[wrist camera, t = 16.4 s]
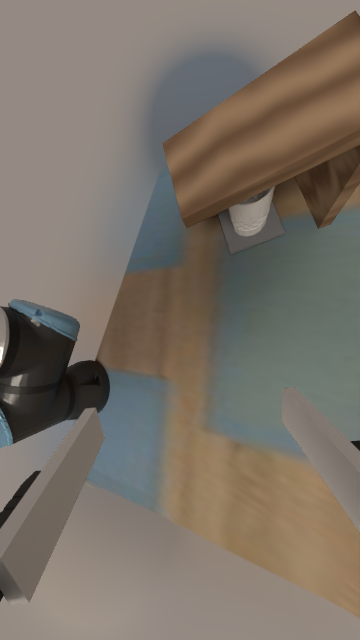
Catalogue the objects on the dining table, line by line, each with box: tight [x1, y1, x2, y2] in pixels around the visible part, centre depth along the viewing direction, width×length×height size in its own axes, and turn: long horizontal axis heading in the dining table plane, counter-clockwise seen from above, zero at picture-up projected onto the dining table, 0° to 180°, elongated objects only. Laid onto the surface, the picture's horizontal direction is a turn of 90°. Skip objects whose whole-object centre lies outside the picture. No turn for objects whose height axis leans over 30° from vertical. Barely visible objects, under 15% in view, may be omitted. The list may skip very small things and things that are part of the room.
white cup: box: [229, 186, 275, 237], centre depth 33 cm, size 8×8×10 cm
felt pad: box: [218, 201, 285, 255], centre depth 38 cm, size 11×11×1 cm
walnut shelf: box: [163, 11, 360, 229], centre depth 29 cm, size 14×24×18 cm, turn 104°
